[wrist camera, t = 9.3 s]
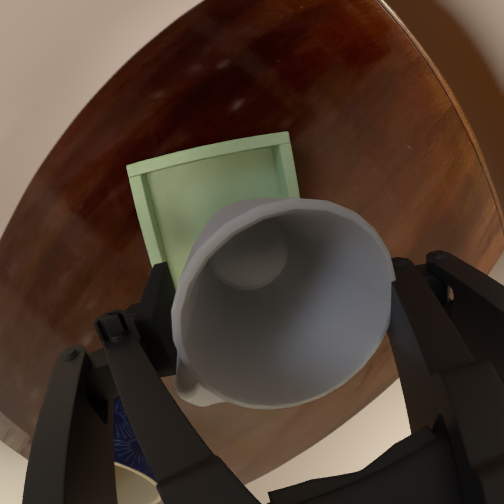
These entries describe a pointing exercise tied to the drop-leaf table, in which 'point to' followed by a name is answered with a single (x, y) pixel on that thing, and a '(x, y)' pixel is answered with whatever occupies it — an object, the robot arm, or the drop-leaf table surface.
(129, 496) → the planter
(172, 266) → the tray
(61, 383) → the robot arm
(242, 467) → the drop-leaf table surface
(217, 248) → the cup
